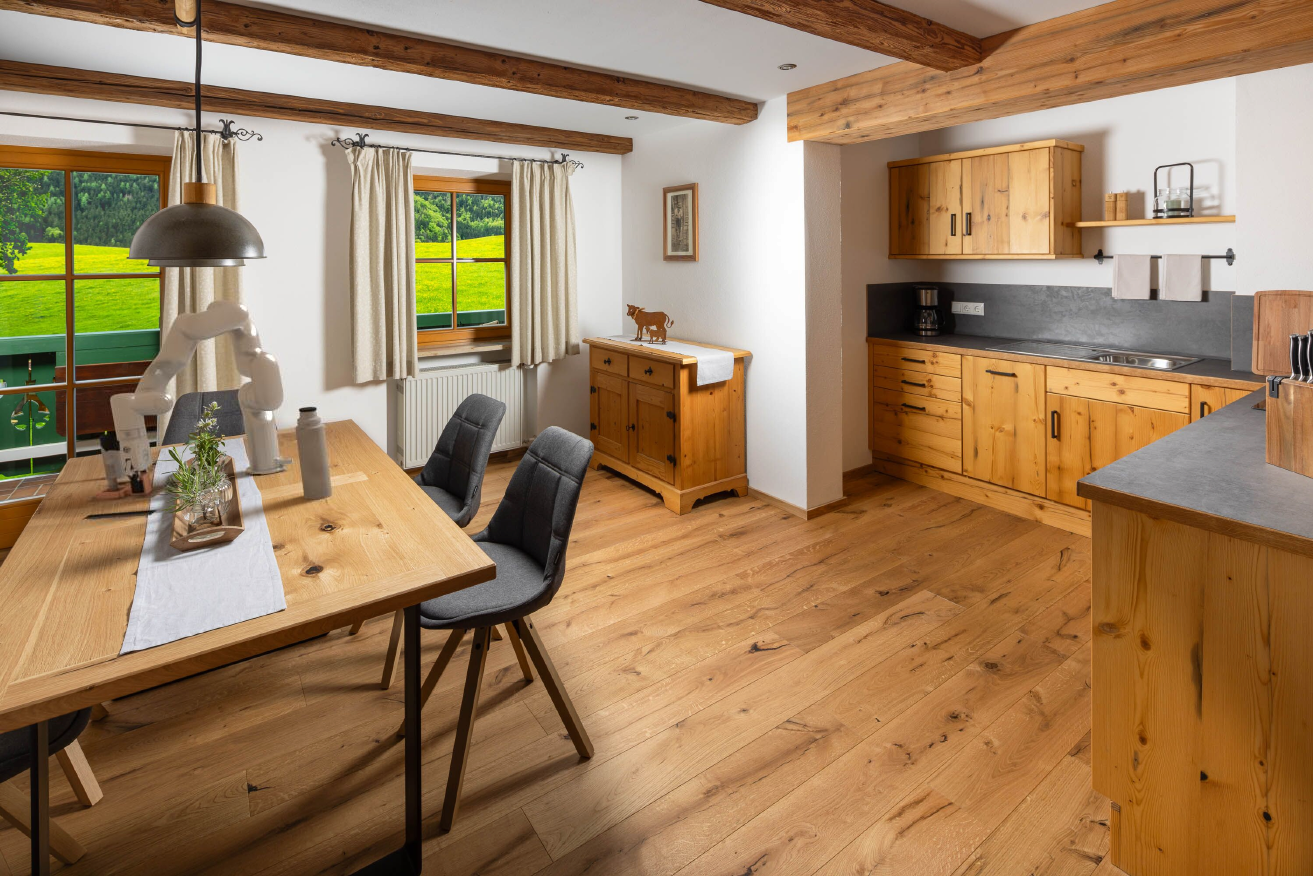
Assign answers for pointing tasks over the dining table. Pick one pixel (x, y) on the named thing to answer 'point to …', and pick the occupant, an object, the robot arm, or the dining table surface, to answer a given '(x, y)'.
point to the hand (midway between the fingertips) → (141, 490)
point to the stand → (114, 488)
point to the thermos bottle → (313, 455)
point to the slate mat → (120, 514)
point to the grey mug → (112, 453)
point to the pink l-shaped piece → (126, 489)
